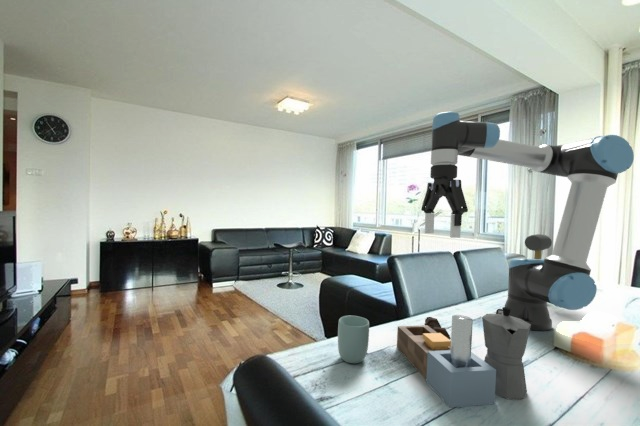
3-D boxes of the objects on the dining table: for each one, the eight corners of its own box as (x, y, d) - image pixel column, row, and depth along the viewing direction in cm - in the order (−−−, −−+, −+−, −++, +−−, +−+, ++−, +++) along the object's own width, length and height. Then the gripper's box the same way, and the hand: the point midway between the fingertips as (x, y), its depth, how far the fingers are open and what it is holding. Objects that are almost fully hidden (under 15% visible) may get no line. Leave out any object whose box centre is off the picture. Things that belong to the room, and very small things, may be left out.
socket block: (426, 346, 88) (427, 325, 88) (461, 376, 72) (462, 351, 72) (396, 347, 87) (397, 326, 86) (425, 379, 71) (427, 353, 71)
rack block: (466, 379, 72) (467, 349, 71) (494, 403, 63) (496, 369, 62) (426, 381, 70) (427, 351, 70) (449, 407, 61) (451, 372, 61)
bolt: (431, 332, 103) (442, 351, 88) (418, 323, 104) (427, 341, 89) (441, 318, 103) (454, 334, 88) (427, 309, 103) (438, 324, 89)
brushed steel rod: (444, 387, 68) (448, 315, 68) (461, 386, 69) (464, 314, 68) (455, 398, 64) (459, 321, 64) (473, 397, 65) (477, 321, 64)
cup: (333, 363, 76) (334, 323, 76) (341, 350, 84) (343, 313, 83) (364, 370, 74) (365, 328, 73) (370, 356, 81) (371, 318, 81)
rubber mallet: (538, 303, 135) (542, 235, 134) (520, 299, 141) (523, 233, 140) (550, 299, 142) (553, 234, 141) (531, 295, 148) (535, 233, 147)
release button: (439, 359, 78) (440, 332, 78) (450, 369, 73) (451, 341, 73) (421, 360, 77) (422, 333, 77) (431, 370, 72) (433, 341, 72)
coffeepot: (536, 411, 61) (541, 320, 60) (482, 398, 64) (486, 313, 64) (517, 373, 75) (521, 299, 75) (474, 364, 79) (478, 294, 78)
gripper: (484, 160, 82) (480, 239, 83) (432, 170, 107) (430, 231, 107) (459, 158, 81) (455, 239, 81) (412, 169, 105) (410, 231, 106)
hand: (441, 235), depth 94 cm, fingers open, 13 cm apart
